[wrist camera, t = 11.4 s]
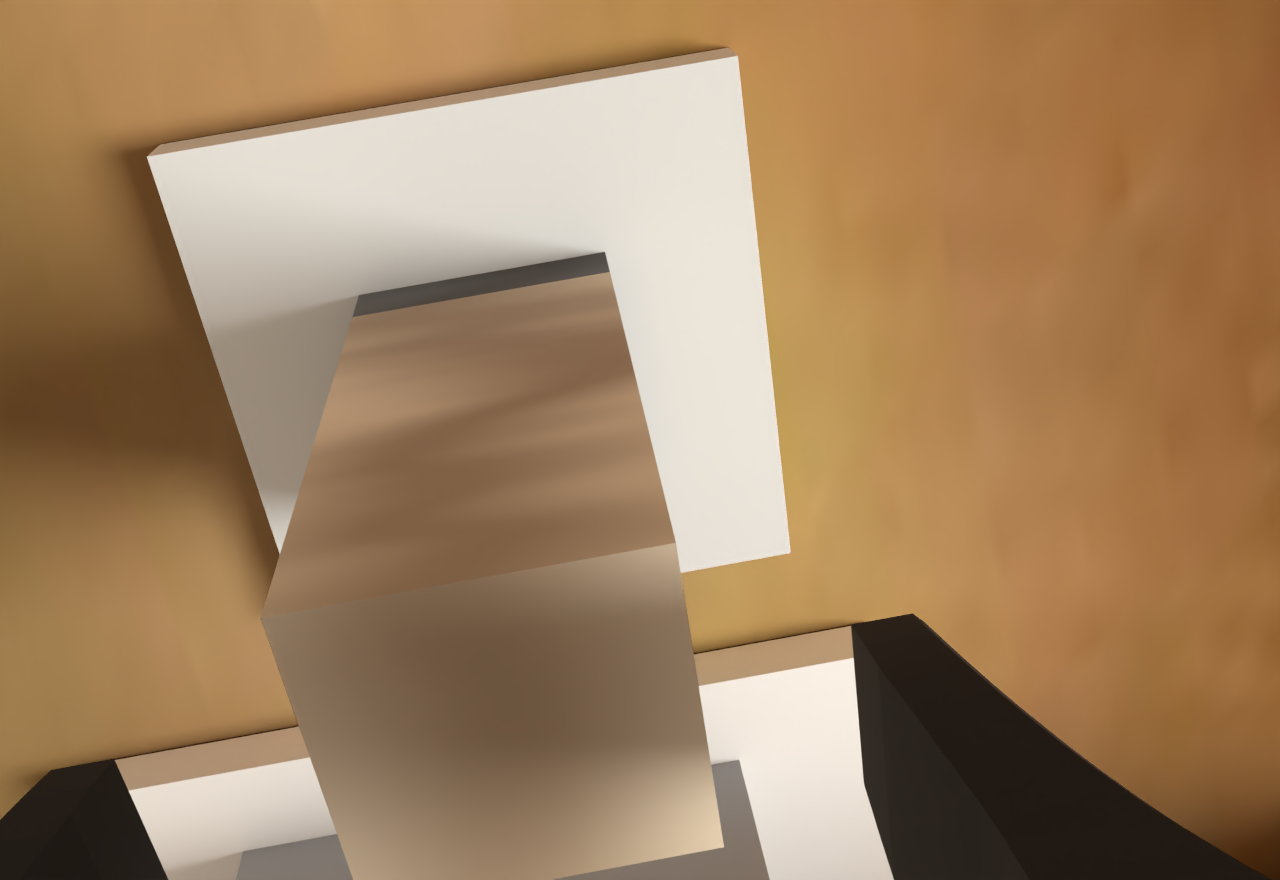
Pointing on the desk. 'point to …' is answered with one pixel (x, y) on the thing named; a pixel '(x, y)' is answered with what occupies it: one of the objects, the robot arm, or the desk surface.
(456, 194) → the rubber pad
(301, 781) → the socket base plate
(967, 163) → the desk surface
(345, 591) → the brown wooden block
